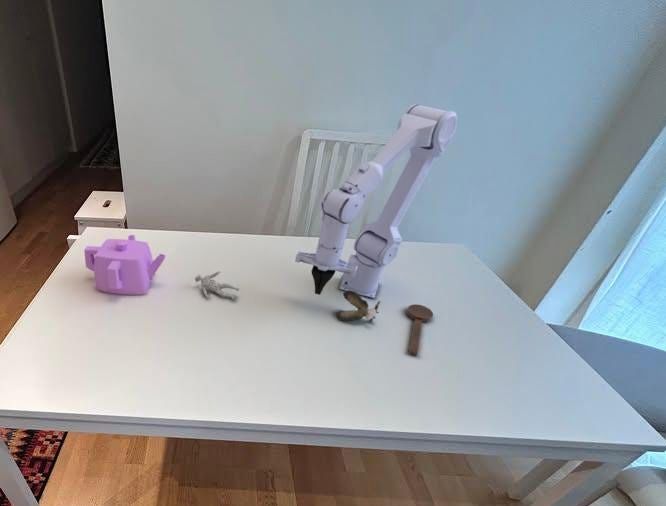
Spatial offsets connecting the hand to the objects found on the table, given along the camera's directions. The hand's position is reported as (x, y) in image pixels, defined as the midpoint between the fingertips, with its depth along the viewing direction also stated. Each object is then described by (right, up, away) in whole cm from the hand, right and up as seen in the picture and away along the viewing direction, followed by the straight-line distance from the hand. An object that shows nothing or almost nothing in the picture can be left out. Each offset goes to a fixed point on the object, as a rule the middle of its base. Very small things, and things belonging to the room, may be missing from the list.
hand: (318, 292), depth 99 cm
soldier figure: (-26, +1, +7) cm, 27 cm away
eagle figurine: (+9, -7, 0) cm, 11 cm away
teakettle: (-51, +4, +9) cm, 52 cm away
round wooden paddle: (+23, -10, -4) cm, 25 cm away
